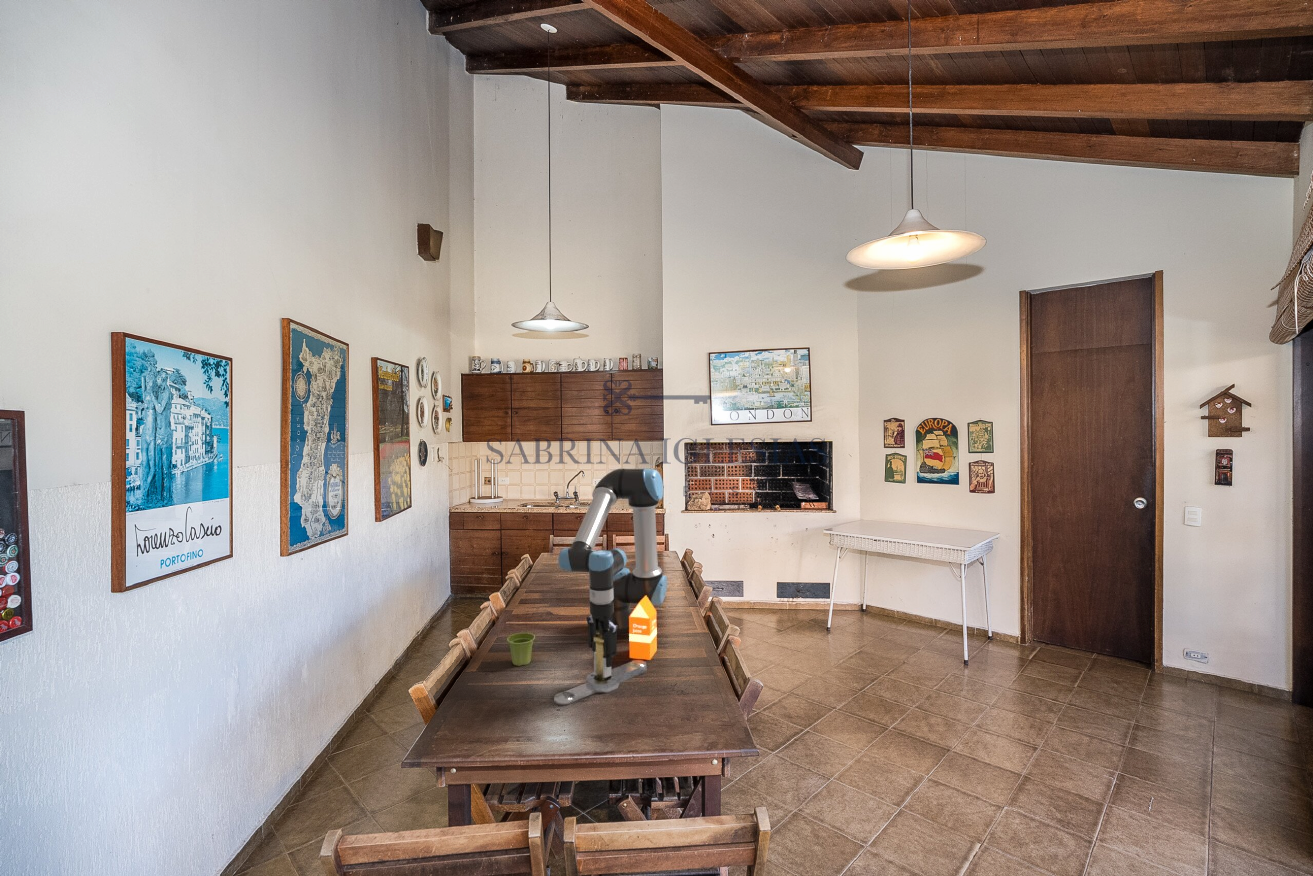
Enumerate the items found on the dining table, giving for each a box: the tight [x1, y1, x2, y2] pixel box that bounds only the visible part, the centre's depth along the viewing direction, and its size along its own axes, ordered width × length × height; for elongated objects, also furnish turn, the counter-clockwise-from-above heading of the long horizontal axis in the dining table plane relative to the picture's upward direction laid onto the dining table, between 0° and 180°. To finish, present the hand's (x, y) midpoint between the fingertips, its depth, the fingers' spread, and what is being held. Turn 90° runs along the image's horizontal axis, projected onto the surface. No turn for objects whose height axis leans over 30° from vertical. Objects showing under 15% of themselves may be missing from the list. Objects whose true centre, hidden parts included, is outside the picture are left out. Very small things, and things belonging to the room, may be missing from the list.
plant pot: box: [506, 632, 536, 667], centre depth 204 cm, size 9×9×9 cm
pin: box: [594, 635, 609, 681], centre depth 186 cm, size 5×5×15 cm
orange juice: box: [628, 596, 658, 661], centre depth 209 cm, size 8×9×20 cm
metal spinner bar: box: [553, 659, 647, 706], centre depth 186 cm, size 35×10×2 cm, turn 133°
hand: (602, 673), depth 186 cm, fingers closed on pin, 4 cm apart
